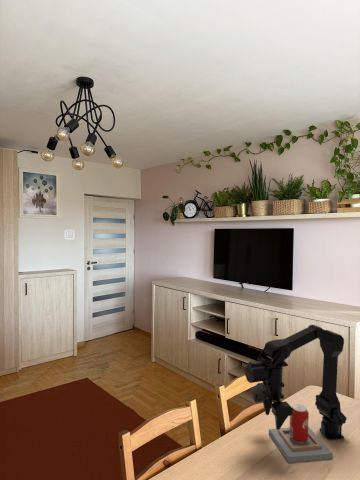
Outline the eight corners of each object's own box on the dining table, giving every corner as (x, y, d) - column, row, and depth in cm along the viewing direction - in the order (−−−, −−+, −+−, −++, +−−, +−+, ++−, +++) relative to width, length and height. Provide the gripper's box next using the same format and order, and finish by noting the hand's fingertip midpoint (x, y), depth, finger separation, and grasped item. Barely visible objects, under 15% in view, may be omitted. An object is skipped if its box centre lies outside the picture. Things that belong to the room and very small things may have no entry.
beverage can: (309, 446, 121) (310, 413, 120) (290, 443, 122) (291, 410, 121) (306, 435, 127) (307, 403, 126) (288, 433, 128) (289, 402, 128)
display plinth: (308, 431, 133) (308, 423, 133) (332, 458, 117) (332, 449, 117) (268, 434, 131) (269, 426, 131) (288, 462, 115) (288, 453, 115)
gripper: (243, 368, 130) (241, 409, 130) (262, 392, 111) (260, 439, 112) (271, 367, 131) (269, 407, 132) (294, 390, 113) (293, 437, 113)
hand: (272, 421), depth 122 cm, fingers open, 9 cm apart
